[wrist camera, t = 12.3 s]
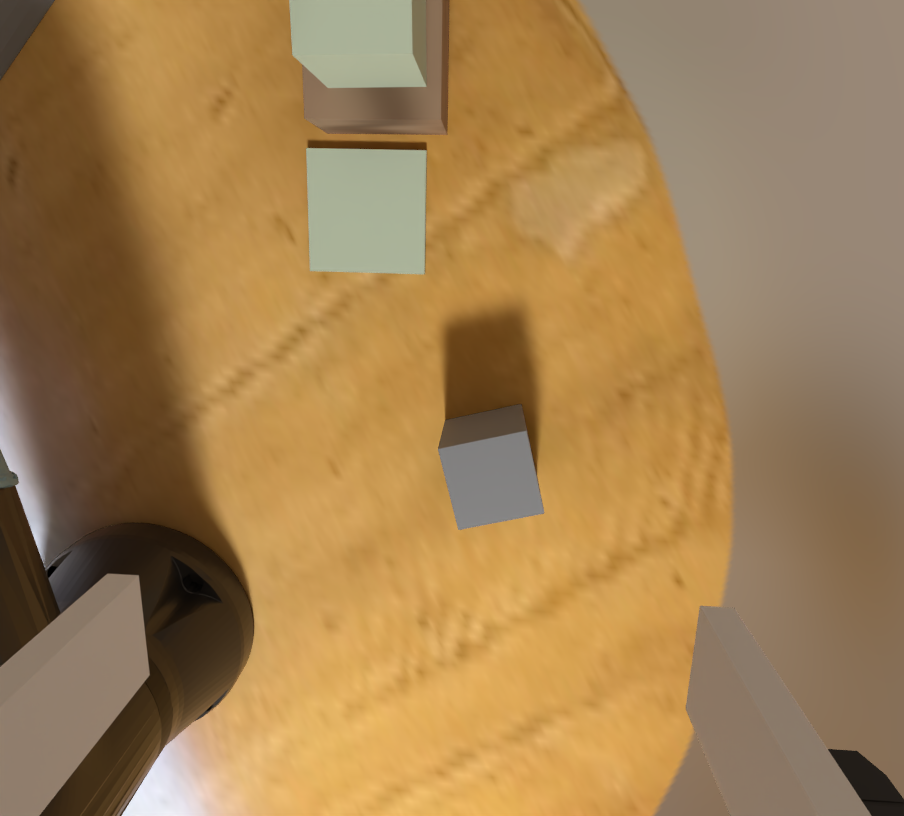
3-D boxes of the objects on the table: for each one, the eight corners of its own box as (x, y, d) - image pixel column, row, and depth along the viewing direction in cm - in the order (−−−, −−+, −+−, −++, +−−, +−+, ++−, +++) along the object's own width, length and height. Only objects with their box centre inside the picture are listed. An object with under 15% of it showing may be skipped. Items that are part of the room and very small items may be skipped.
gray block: (462, 490, 43) (458, 529, 37) (445, 419, 42) (437, 449, 36) (537, 475, 42) (544, 513, 36) (521, 403, 41) (526, 430, 35)
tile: (311, 270, 40) (309, 270, 39) (308, 149, 38) (306, 148, 37) (425, 273, 39) (424, 274, 39) (426, 151, 37) (426, 150, 37)
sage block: (327, 88, 32) (292, 55, 27) (322, -25, 31) (284, -86, 25) (426, 86, 32) (412, 53, 26) (425, -28, 31) (410, -89, 25)
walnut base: (328, 134, 38) (304, 118, 33) (324, -1, 36) (298, -39, 31) (447, 135, 37) (440, 119, 32) (449, -1, 35) (442, -39, 31)
